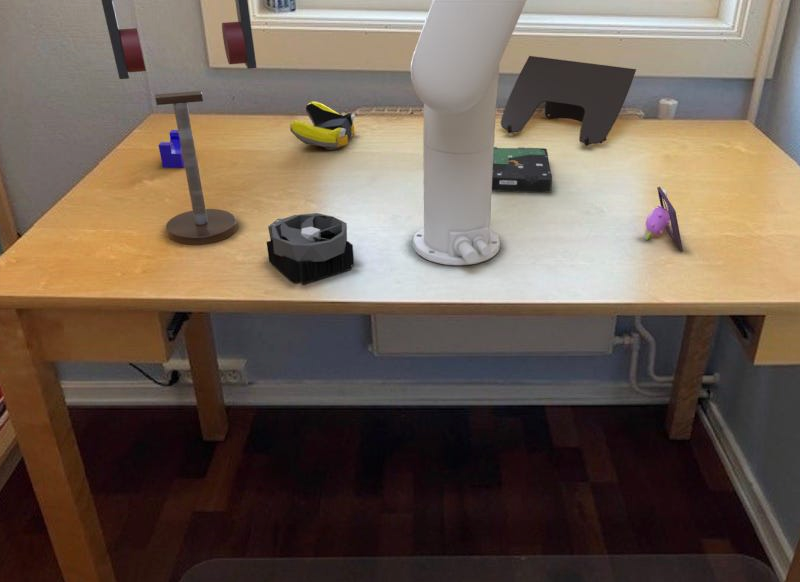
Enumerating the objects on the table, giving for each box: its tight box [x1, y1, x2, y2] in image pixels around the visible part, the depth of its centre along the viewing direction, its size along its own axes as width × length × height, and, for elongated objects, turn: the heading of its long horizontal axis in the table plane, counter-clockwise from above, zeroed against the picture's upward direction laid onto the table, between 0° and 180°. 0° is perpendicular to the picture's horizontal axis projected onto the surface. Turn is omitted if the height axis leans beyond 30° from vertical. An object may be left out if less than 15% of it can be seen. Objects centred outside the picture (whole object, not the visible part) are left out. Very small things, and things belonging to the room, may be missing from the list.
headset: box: [100, 0, 258, 80], centre depth 100 cm, size 5×17×14 cm, turn 111°
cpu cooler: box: [266, 212, 355, 285], centre depth 106 cm, size 10×6×10 cm
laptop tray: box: [500, 55, 637, 150], centre depth 158 cm, size 23×23×9 cm
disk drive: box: [492, 146, 553, 193], centre depth 136 cm, size 10×3×15 cm
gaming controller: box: [289, 101, 356, 151], centre depth 148 cm, size 15×6×10 cm
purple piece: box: [644, 186, 684, 252], centre depth 116 cm, size 7×5×9 cm
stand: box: [154, 90, 238, 246], centre depth 111 cm, size 10×10×20 cm
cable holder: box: [158, 129, 185, 169], centre depth 139 cm, size 8×4×4 cm, turn 1°
